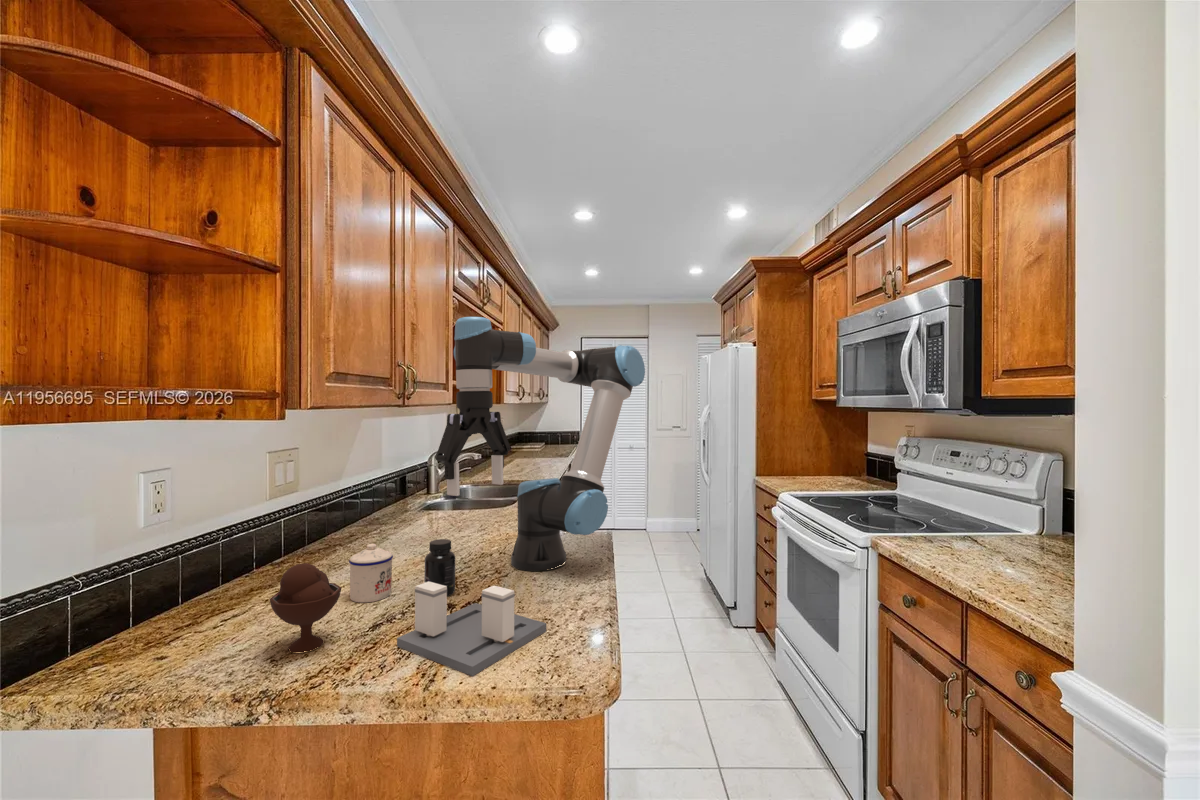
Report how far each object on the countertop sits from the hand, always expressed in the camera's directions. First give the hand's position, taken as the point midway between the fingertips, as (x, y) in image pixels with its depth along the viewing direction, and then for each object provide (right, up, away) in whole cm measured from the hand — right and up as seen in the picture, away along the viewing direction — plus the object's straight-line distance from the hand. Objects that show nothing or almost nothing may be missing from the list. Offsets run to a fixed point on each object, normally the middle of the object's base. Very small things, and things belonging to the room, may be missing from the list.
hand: (476, 489), depth 106 cm
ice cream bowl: (-26, -25, -17) cm, 40 cm away
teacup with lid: (-26, -26, +8) cm, 37 cm away
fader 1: (-5, -25, -15) cm, 30 cm away
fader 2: (+8, -25, -18) cm, 32 cm away
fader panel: (+3, -25, -14) cm, 29 cm away
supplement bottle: (-11, -26, +8) cm, 29 cm away
